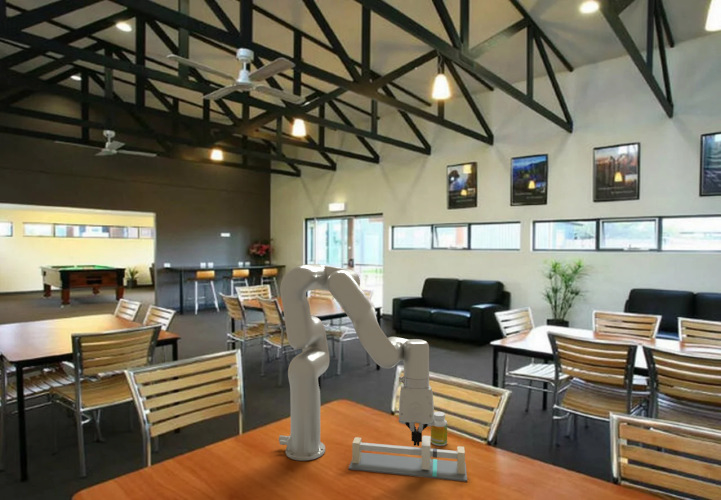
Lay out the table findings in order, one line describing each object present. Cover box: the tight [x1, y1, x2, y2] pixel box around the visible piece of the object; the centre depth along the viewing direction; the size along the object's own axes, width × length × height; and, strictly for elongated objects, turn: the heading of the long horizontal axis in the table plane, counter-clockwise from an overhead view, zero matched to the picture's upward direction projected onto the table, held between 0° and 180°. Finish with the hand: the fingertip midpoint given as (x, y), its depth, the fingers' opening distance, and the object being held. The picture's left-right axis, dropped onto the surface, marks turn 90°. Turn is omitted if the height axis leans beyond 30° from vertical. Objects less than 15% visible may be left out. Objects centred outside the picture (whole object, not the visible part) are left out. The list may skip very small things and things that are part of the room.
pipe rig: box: [348, 436, 468, 482], centre depth 125 cm, size 34×10×6 cm, turn 79°
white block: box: [421, 435, 432, 470], centre depth 124 cm, size 2×7×7 cm, turn 169°
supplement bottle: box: [430, 411, 448, 447], centre depth 141 cm, size 5×5×10 cm
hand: (416, 443), depth 125 cm, fingers closed
